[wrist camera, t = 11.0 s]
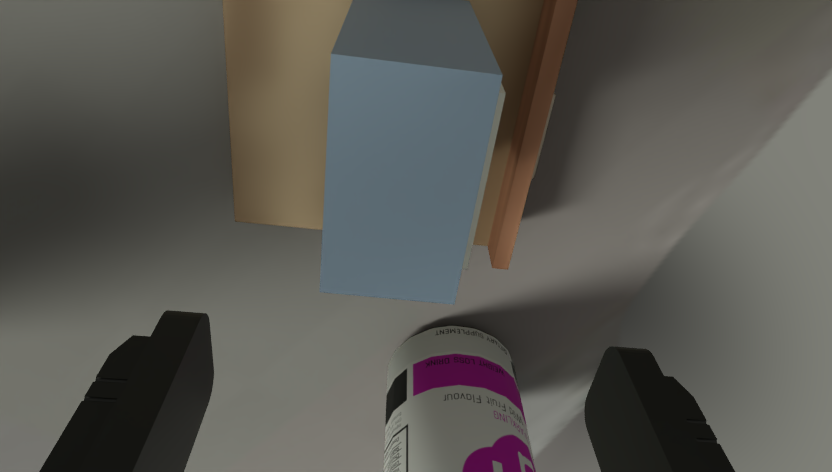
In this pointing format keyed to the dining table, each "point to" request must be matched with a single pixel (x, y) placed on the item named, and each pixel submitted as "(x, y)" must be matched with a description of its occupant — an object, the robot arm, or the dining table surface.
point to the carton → (407, 148)
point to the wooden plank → (309, 97)
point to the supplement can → (454, 406)
